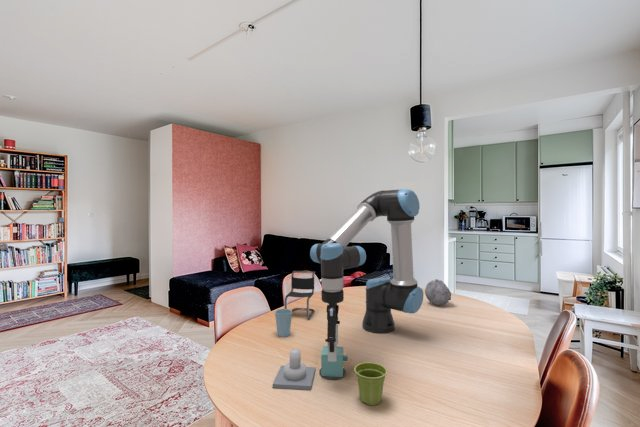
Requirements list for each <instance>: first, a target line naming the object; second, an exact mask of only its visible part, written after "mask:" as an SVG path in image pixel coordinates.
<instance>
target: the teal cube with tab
mask: <svg viewBox="0 0 640 427" xmlns="http://www.w3.org/2000/svg"><path fill="white" fill-rule="evenodd" d="M320 360H321V362H320V365H321V366H320V369H321V376H333V377H343V368H344V362H346V363H347V362H349V355H345V354H344V346H337V345H336V360H337V361H336V362H332V361H328V345H323V346H322V349H321V355H320ZM321 376H320V377H321ZM343 378H344V377H343Z"/></svg>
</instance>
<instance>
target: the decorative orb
mask: <svg viewBox="0 0 640 427" xmlns="http://www.w3.org/2000/svg"><path fill="white" fill-rule="evenodd" d="M424 288H425V289H424V294H425V298H426V299H427V300H428V301H429V303H431V304H433V305H435V306H444V305H446V304H448V303H449V301H452V300H451V299H452V292H451V290H450V289H449V288H448V286H447V284H445V282H444V281H443V280H440V279H438V278H437V279H435V280H434V279H433V280H431V281H429V282H428V283H427V284H426V286H425V287H424Z"/></svg>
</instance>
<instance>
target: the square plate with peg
mask: <svg viewBox="0 0 640 427" xmlns="http://www.w3.org/2000/svg"><path fill="white" fill-rule="evenodd" d="M301 353H302V352H301V349H297V348H294V349H290V350H289V362H287V363H286V364H284V365H280V368H279V370H278V371H277V373H276V376H275V377H274V380H273V381H272V389H285V390H286V389H287V390H301V391H302V390H303V391H304V390H305V391H311V390H312V386H313V382H314V378H315V373H316V367H315V366H307V365H306V364H305V363H304V362H302V361H301V360H302V359H301V357H302V356H301Z"/></svg>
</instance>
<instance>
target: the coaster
mask: <svg viewBox="0 0 640 427" xmlns="http://www.w3.org/2000/svg"><path fill="white" fill-rule="evenodd" d="M318 373H319V376H320V377H321V378H322V379H325V380H330V381H336V380H338V381H339V380H340V379H343V378H345V377H346V373H347V371H346V369H345V368H344V367H343V377H333V376H321V368H320V369H319V372H318Z"/></svg>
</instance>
